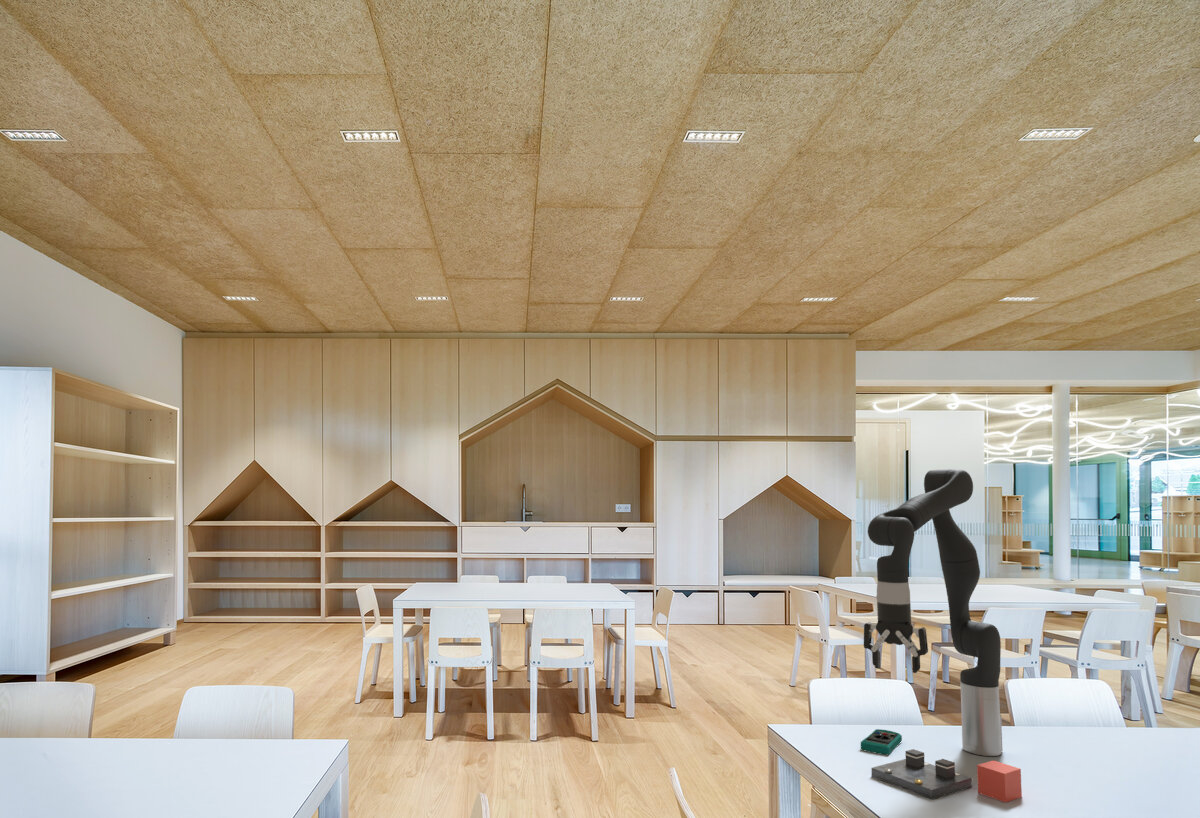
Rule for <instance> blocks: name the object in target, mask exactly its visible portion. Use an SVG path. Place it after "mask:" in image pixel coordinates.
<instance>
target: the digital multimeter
mask: <svg viewBox="0 0 1200 818" xmlns="http://www.w3.org/2000/svg"><path fill="white" fill-rule="evenodd" d="M902 736H903V735H902V734H901V733H898V732H896V731H892V730H888V729H879V728H877V729H875V730H874V731H872V732H871V733H870V734H869V735H867V737H865V738H864V739H862V741H860V750H861V749H862V750H861V751H864V750H866V751H865V752H868V751H870V753H873V752H876V753H875V754H878V753H881V754H880V755H884V754H888V755H887V756H889V755H890V754H891V753H892V752H893V751H892V750H893V749H894V750H895V749H896V748H897V747H898V746H899V745H900V744H901V743H900V742H901V741H902V742H903V737H902ZM899 743H900V744H899ZM898 744H899V745H898ZM897 745H898V746H897ZM896 746H897V747H896Z"/></svg>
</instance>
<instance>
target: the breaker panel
mask: <svg viewBox="0 0 1200 818" xmlns="http://www.w3.org/2000/svg"><path fill="white" fill-rule="evenodd" d="M924 765H925V766H922V767H918V768H916V767H913V766H910V765H907V764H906V758H904V759H900V760H897V761H893V762H889V763H885V764H884V763H883V764H880V765H877V766H872V767H871V778H875V779H877V780H879V781H882V782H885V783H888V784H890V785H892V786H895V787H898V788H901V789H903V790H906V791H909V792H912V793H914V794H917V795H920V796H922V797H925V798H928V799H931V800H935V799H938V798H941V797H944V796H948V795H950V794H954V793H958V792H960V791H963V790H967V789H970V788H972V787H973V779H972V778H973V777H970V776H968V775H964V774H962V773H958V772H956V771H955V776H954V777H951V778H945V777H942V776H939V775H936V768H935V764H932V763H929V762H925V761H924Z"/></svg>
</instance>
